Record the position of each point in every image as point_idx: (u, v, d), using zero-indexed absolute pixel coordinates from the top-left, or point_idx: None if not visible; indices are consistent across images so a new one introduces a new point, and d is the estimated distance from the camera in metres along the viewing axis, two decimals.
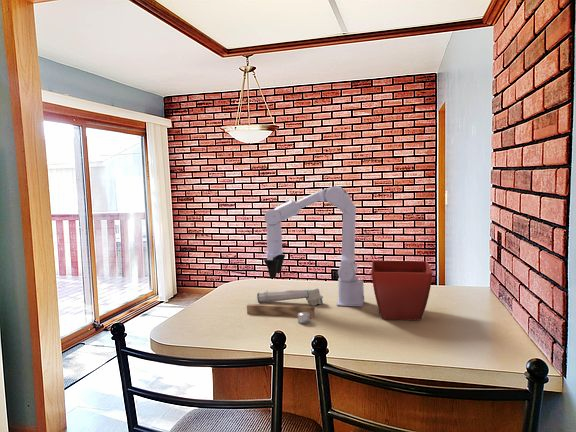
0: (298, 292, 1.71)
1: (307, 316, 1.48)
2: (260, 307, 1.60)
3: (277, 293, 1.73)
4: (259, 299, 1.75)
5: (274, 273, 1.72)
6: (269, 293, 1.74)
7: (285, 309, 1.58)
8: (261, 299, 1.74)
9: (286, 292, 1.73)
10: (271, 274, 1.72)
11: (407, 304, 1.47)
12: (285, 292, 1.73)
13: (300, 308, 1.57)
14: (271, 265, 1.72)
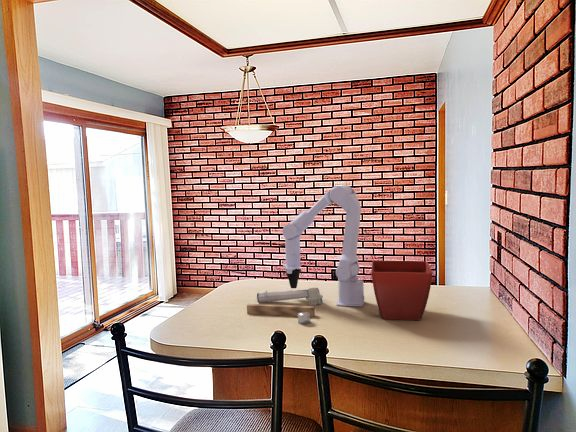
0: (298, 292, 1.72)
1: (307, 316, 1.48)
2: (260, 307, 1.60)
3: (277, 293, 1.73)
4: (259, 299, 1.75)
5: (295, 284, 1.79)
6: (269, 293, 1.74)
7: (285, 309, 1.58)
8: (261, 299, 1.74)
9: (286, 292, 1.73)
10: (292, 285, 1.79)
11: (407, 304, 1.47)
12: (285, 292, 1.73)
13: (300, 308, 1.57)
14: (292, 276, 1.79)
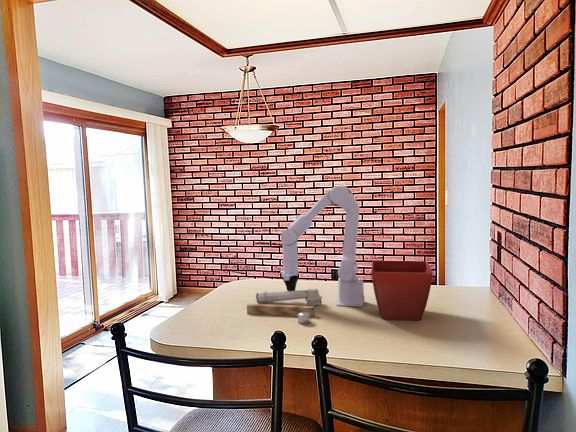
0: (297, 292, 1.71)
1: (307, 316, 1.48)
2: (260, 307, 1.60)
3: (276, 293, 1.73)
4: (258, 299, 1.74)
5: None
6: (268, 293, 1.74)
7: (285, 309, 1.58)
8: (260, 299, 1.74)
9: (285, 292, 1.72)
10: None
11: (407, 304, 1.47)
12: (284, 292, 1.72)
13: (300, 308, 1.57)
14: (289, 283, 1.75)
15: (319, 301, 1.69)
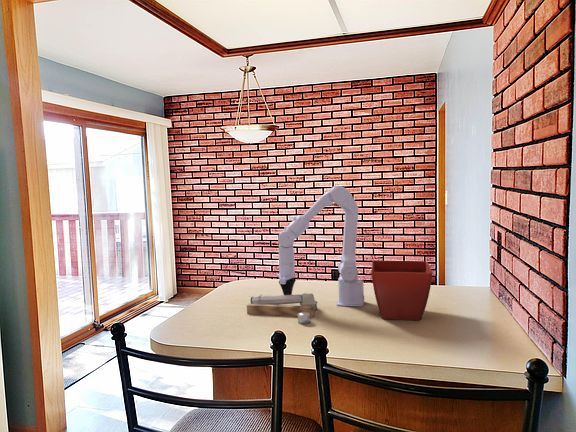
0: (292, 297, 1.65)
1: (307, 316, 1.48)
2: (260, 307, 1.60)
3: (270, 297, 1.68)
4: (252, 303, 1.69)
5: None
6: (262, 297, 1.69)
7: (285, 309, 1.58)
8: (254, 303, 1.69)
9: (280, 296, 1.67)
10: None
11: (407, 304, 1.47)
12: (279, 296, 1.67)
13: (300, 308, 1.57)
14: (286, 287, 1.69)
15: None
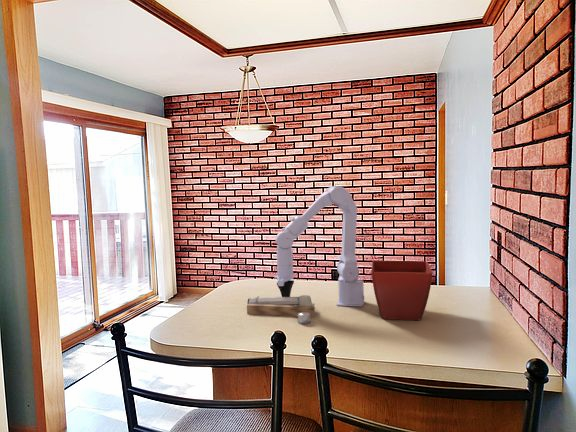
0: (289, 299, 1.62)
1: (307, 316, 1.48)
2: (260, 307, 1.60)
3: (267, 299, 1.65)
4: None
5: None
6: (259, 299, 1.67)
7: (285, 309, 1.58)
8: None
9: (276, 298, 1.64)
10: None
11: (407, 304, 1.47)
12: (275, 298, 1.64)
13: (300, 308, 1.57)
14: (284, 288, 1.67)
15: None
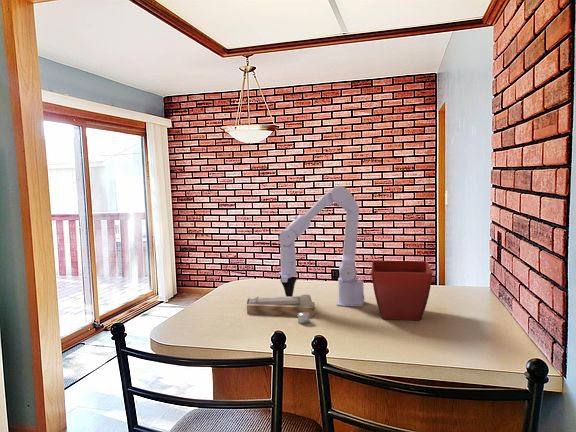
0: (289, 299, 1.63)
1: (307, 316, 1.48)
2: (260, 307, 1.60)
3: (267, 299, 1.65)
4: None
5: (290, 293, 1.71)
6: (259, 299, 1.66)
7: (285, 309, 1.58)
8: None
9: (277, 298, 1.64)
10: (288, 293, 1.72)
11: (407, 304, 1.47)
12: (276, 298, 1.65)
13: (300, 308, 1.57)
14: (287, 285, 1.71)
15: None
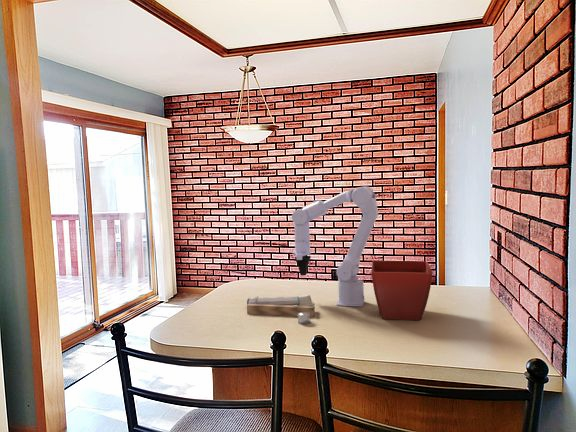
0: (289, 299, 1.63)
1: (307, 316, 1.48)
2: (260, 307, 1.60)
3: (267, 299, 1.65)
4: None
5: (305, 271, 1.75)
6: (259, 299, 1.66)
7: (285, 309, 1.58)
8: None
9: (276, 298, 1.64)
10: (302, 272, 1.75)
11: (407, 304, 1.47)
12: (275, 298, 1.64)
13: (300, 308, 1.57)
14: (302, 263, 1.75)
15: None
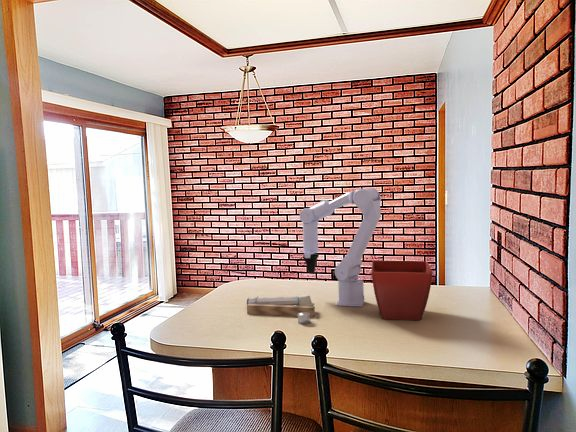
0: (288, 299, 1.63)
1: (307, 316, 1.48)
2: (260, 307, 1.60)
3: (267, 299, 1.65)
4: None
5: (312, 269, 1.78)
6: (259, 299, 1.66)
7: (285, 309, 1.58)
8: None
9: (276, 298, 1.64)
10: (310, 270, 1.78)
11: (407, 304, 1.47)
12: (275, 298, 1.64)
13: (300, 308, 1.57)
14: (310, 261, 1.78)
15: None
